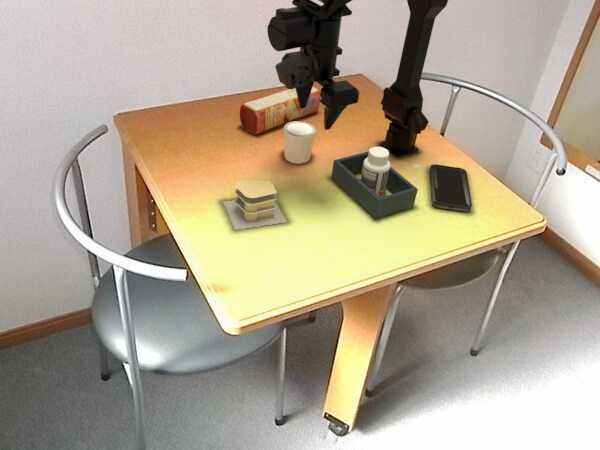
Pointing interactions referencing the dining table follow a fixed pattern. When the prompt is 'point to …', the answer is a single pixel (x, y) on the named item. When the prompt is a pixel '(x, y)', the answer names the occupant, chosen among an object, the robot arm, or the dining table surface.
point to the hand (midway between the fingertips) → (314, 118)
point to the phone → (450, 188)
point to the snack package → (276, 110)
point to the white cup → (298, 141)
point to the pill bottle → (376, 170)
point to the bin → (365, 196)
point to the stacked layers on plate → (254, 205)
